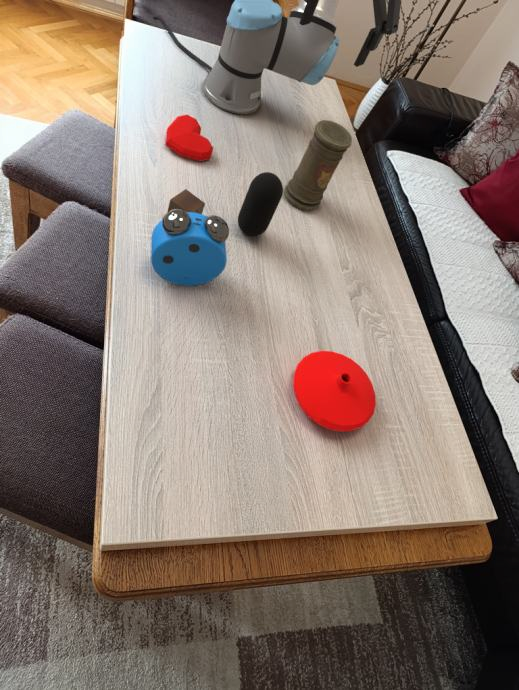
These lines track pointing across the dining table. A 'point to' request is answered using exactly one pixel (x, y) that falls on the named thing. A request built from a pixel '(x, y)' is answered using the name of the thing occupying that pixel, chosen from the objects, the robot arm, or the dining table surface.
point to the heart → (188, 139)
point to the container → (318, 165)
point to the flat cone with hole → (334, 391)
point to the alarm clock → (189, 247)
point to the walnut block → (186, 203)
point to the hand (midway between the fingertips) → (331, 43)
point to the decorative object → (260, 204)
